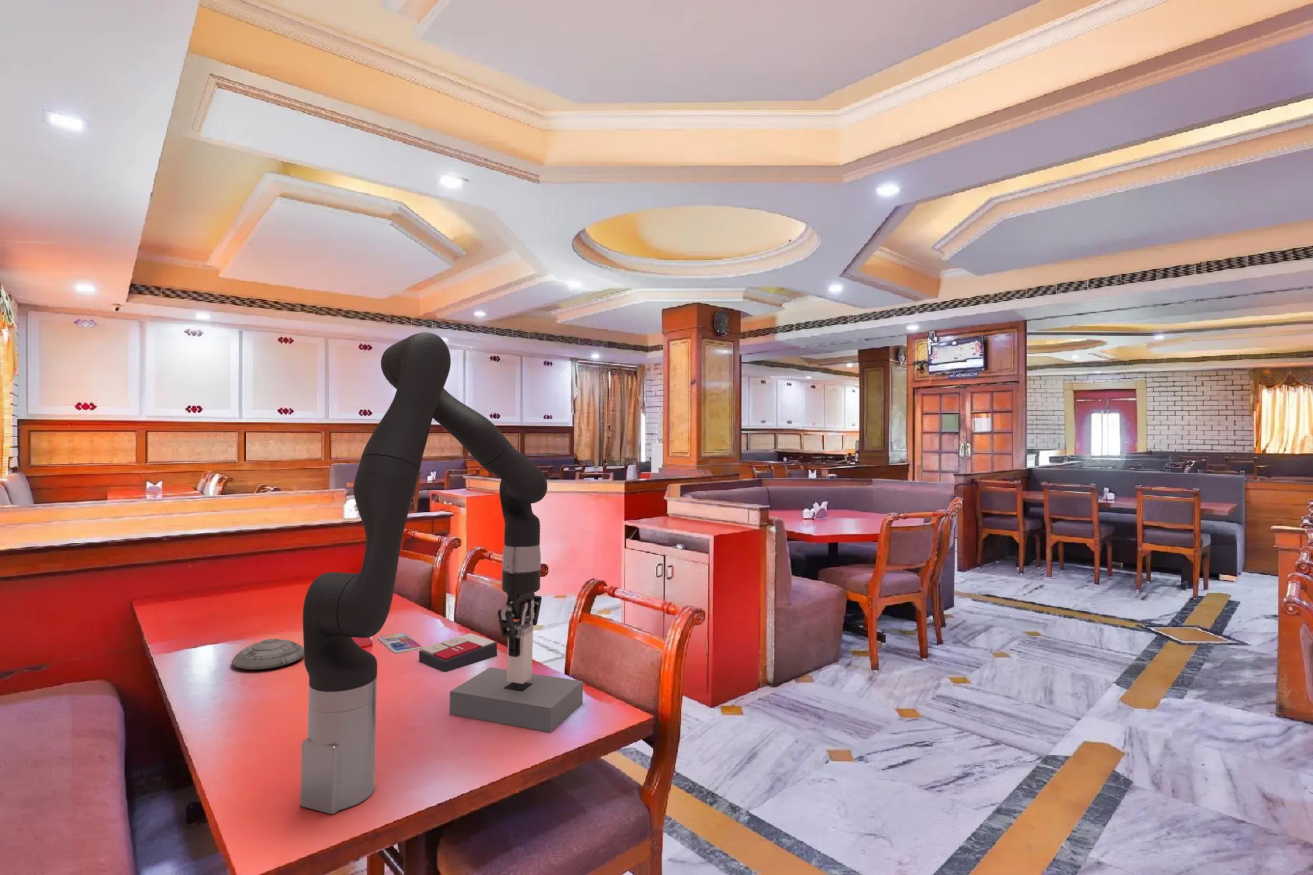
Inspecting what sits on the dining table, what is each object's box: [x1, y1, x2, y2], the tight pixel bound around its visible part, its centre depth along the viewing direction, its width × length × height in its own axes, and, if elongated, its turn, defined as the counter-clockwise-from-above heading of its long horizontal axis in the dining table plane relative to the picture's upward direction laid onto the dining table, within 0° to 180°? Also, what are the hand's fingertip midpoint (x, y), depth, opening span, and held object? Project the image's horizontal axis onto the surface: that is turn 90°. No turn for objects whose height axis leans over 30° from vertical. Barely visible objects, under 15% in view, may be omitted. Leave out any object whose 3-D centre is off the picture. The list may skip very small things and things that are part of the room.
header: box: [449, 666, 584, 733], centre depth 126 cm, size 14×22×4 cm, turn 72°
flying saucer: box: [231, 638, 304, 670], centre depth 149 cm, size 15×15×6 cm
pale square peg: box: [506, 624, 534, 684], centre depth 126 cm, size 4×4×11 cm
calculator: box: [418, 632, 498, 673], centre depth 154 cm, size 11×4×15 cm
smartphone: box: [377, 632, 424, 655], centre depth 164 cm, size 7×1×15 cm
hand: (519, 652), depth 126 cm, fingers closed on pale square peg, 3 cm apart
